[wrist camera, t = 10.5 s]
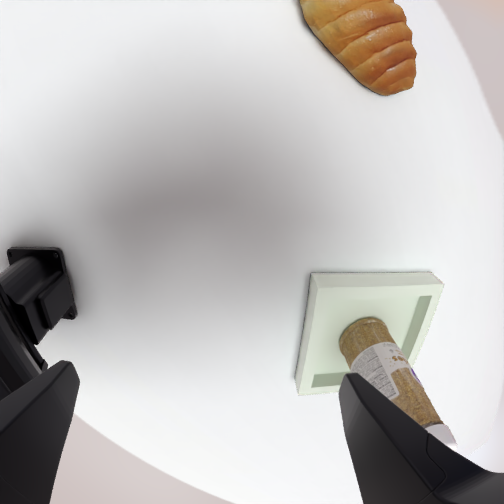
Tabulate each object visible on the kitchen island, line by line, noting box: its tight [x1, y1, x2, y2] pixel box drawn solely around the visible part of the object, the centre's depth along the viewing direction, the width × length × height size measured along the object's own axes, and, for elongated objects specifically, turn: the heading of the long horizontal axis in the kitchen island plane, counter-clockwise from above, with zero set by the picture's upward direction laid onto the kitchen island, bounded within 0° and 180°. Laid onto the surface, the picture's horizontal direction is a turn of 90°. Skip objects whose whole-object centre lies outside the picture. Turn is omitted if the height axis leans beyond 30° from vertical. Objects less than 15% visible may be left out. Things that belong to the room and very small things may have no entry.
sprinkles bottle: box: [339, 318, 457, 452], centre depth 18 cm, size 5×5×14 cm
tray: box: [295, 272, 444, 396], centre depth 23 cm, size 11×11×2 cm
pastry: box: [299, 0, 417, 96], centre depth 14 cm, size 9×7×4 cm
